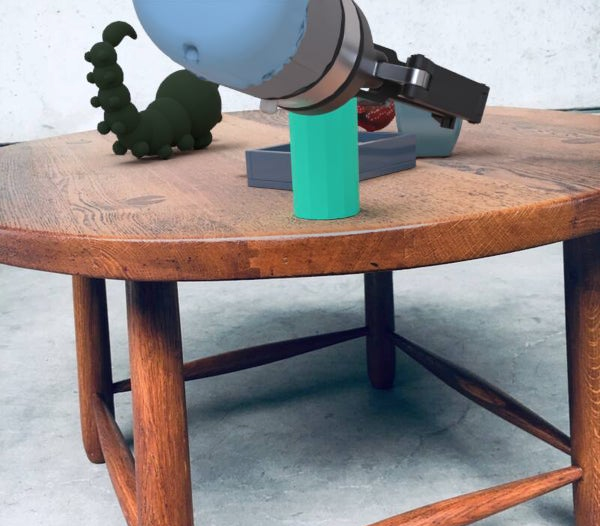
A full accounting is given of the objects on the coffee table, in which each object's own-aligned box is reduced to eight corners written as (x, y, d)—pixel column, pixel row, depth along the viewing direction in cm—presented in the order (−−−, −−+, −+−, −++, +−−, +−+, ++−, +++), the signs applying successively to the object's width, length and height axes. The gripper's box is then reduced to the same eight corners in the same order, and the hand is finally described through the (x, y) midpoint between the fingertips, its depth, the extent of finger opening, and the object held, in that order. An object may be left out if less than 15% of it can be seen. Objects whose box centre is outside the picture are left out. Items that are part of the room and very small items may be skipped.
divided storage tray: (416, 167, 105) (415, 133, 104) (314, 192, 92) (312, 154, 91) (351, 162, 111) (350, 130, 110) (247, 186, 98) (244, 150, 97)
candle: (341, 221, 78) (336, 74, 74) (282, 217, 81) (273, 76, 76) (370, 208, 83) (367, 70, 78) (313, 205, 86) (307, 71, 81)
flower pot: (466, 149, 117) (467, 76, 113) (465, 159, 109) (467, 80, 105) (398, 151, 118) (397, 79, 115) (393, 161, 110) (392, 83, 107)
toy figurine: (142, 181, 117) (251, 139, 135) (114, 24, 109) (235, 2, 127) (90, 178, 122) (202, 137, 140) (59, 28, 113) (183, 6, 132)
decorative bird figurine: (413, 136, 133) (413, 64, 129) (337, 152, 121) (335, 73, 117) (397, 136, 134) (397, 64, 131) (321, 151, 122) (318, 73, 119)
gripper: (93, 64, 55) (214, 104, 75) (492, 157, 50) (507, 172, 70) (114, -67, 53) (232, 9, 73) (531, 15, 48) (536, 73, 68)
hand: (367, 89), depth 72 cm, fingers open, 13 cm apart
